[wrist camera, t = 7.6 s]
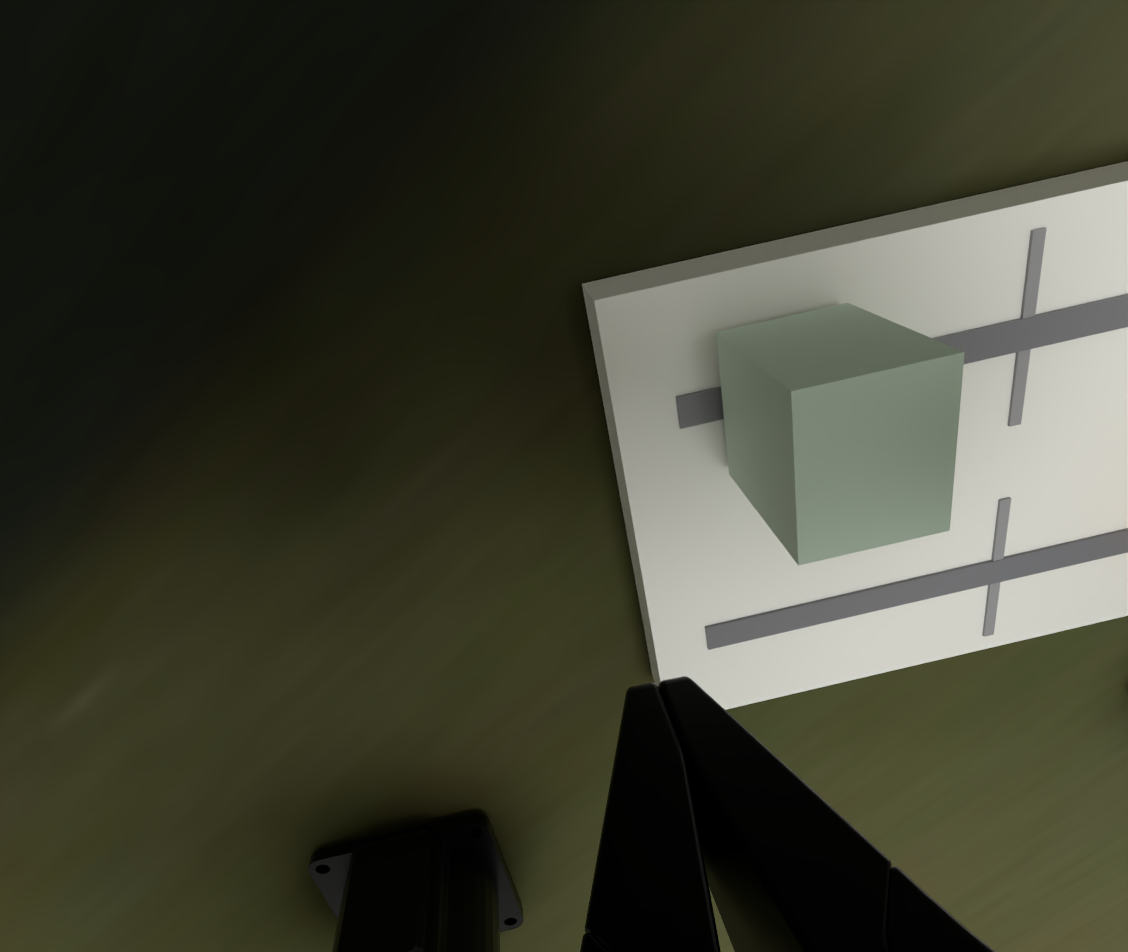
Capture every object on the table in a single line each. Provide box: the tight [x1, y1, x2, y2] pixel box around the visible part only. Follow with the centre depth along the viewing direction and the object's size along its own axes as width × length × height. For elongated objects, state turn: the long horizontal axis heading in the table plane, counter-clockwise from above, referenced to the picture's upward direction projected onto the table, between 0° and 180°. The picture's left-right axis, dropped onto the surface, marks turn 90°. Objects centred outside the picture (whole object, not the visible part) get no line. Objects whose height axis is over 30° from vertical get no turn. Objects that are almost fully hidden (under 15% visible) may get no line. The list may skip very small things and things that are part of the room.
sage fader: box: [716, 303, 965, 566], centre depth 14 cm, size 4×3×4 cm
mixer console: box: [582, 161, 1128, 710], centre depth 18 cm, size 13×20×2 cm, turn 101°
